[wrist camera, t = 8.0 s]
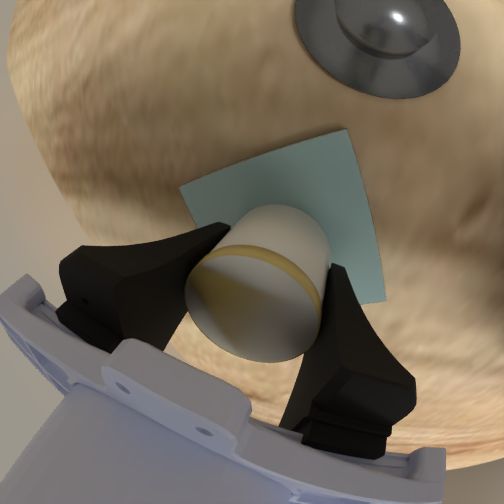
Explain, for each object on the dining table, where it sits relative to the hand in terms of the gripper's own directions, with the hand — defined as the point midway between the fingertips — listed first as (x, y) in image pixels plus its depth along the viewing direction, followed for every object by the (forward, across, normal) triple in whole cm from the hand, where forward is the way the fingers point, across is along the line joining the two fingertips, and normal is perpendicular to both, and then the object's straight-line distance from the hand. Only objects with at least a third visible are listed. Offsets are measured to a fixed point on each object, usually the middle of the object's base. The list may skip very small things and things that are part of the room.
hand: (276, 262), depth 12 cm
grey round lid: (+3, -1, -12) cm, 12 cm away
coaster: (+3, 0, 0) cm, 3 cm away
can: (+1, 0, 0) cm, 1 cm away
